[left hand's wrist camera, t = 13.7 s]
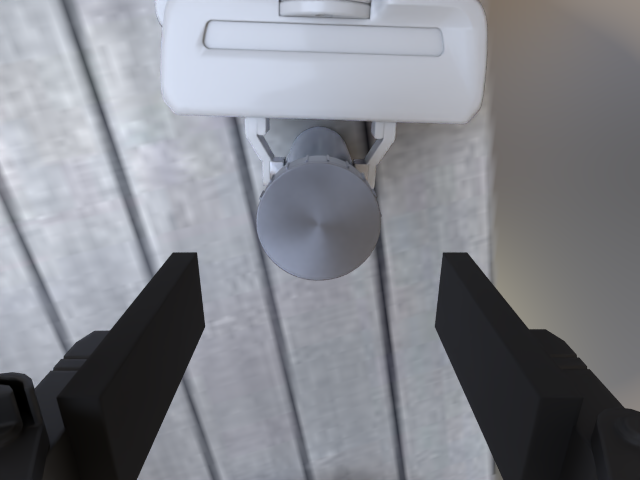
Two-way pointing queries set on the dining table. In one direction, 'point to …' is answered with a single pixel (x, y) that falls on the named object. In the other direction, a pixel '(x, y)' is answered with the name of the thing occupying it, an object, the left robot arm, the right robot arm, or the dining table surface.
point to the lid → (318, 218)
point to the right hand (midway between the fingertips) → (319, 185)
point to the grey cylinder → (319, 145)
